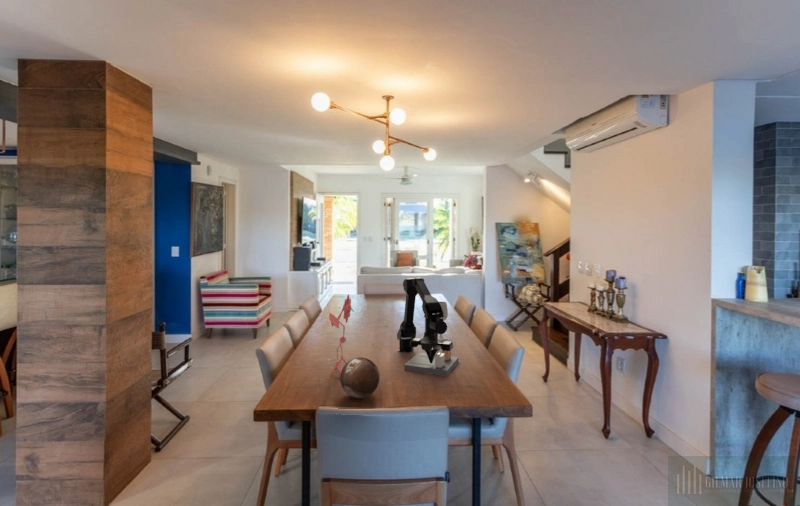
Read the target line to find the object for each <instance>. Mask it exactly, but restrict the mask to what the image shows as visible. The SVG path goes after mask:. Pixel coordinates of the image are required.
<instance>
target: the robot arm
mask: <svg viewBox="0 0 800 506" xmlns="http://www.w3.org/2000/svg"><path fill="white" fill-rule="evenodd" d="M402 286H403V292H404V293H405V305H404V316H403V321H402V322H401V323H400V326H399V328H398V330H397V333H396V340H398V341H399V342H398V343H399V347H398V348H399V349H398V350H397V351H398V352H399V353H408V354H410V353H411V352H413V351H414V350H415V349H414V348H417V347H418V346H420V347H421V349H422V350H423V351H424V352H425V353H427V356H428V358H429V361H430V363H432V362H433V360H434V357H435V355H436V354H437V353H438V351H440V350H441V351H442V350H444V351H450V350H451V351H452V349H453V348H454V344H453V342H452V341H447V340H443V342H439V340H438V337H439V335H440V334H442V335H444V334H445V333H446V332H447V330H448V324H447V323H446V322H445V321H443V318H441V317H444V316H443V314H444V313H443V310H442V308H441V305H440V303H439V302H440V301H439V300H438V299H437V298H436V297H434V296H432V294H431V292H430V291H429V288H428V287H427V284H426V283H425V279H424V278H423V277H410V278H409V277H407V278H405V279H404V280H403V281H402ZM417 295H418V296H419V297H420V300H421V302H422V305H421V308H422V312H423V314H424V316H423V317H424V332H423V337H422V338H418V337H417V327H416V325H415V324H414V319H415V318H414V316H415V315H414V314H415V305H416V296H417ZM438 313H439V314H438Z"/></svg>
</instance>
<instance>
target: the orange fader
mask: <svg viewBox="0 0 800 506" xmlns="http://www.w3.org/2000/svg"><path fill="white" fill-rule="evenodd" d="M441 353H445V360H449V359H450V358H451V357H452V349H451V350H450V351H444V350H442V349H441Z"/></svg>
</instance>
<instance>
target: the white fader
mask: <svg viewBox="0 0 800 506" xmlns="http://www.w3.org/2000/svg"><path fill="white" fill-rule="evenodd" d="M444 364H445V353H442V352H436V355H435V367H440V368H442V367H443V366H444Z"/></svg>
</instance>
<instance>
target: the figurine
mask: <svg viewBox="0 0 800 506" xmlns="http://www.w3.org/2000/svg"><path fill="white" fill-rule="evenodd" d="M351 311H352V312H355V311H354V309H353V308H352V299H351V298H350V294H349V293H347V296H346V298H345V299H344V303H343V306H342V309H341V311H340V313H339V315H338V317H337V316H335V315H334V314H332V312H331V313H330V312H329V314H328V315H329V316H328V318H329V321H330V323H331V327H333V328H334V327H335V328H336V329H340V325H341V326H342V327H343V328H342V329H343V332H342V334H343V335H342V336H340V338H339V342H340V344H339V345H338V347H336V360H337V361H335V363H334V364H335V365H334V366H335V367H334V369H333V371H332V372H331V374H330V376H333V375H332V374H334V373H335V370H337V371H338V373H339V374H340V375H341V371H342V369H343V367H342V366H341V364H340V363H341V362H343V363H344V365H345V364H346V363H347V362H346V361H345V359H344V355H343V354H341V355H340V359H339V353H338V352H339V348H340V351H341V353H343V350H342V349H343V347H342V344H344V343H345V342H346V341H347V339H346V337H345V331H346V330H345V327H346V326H345V325H344V324H343V323H342V322H341V321H340V319H341V317H342V314H343V319H344V320H345V323H346V324H347V323H348V320H349V318H350V316H351ZM336 368H337V369H336ZM327 380H328V381H330V378H327Z"/></svg>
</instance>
